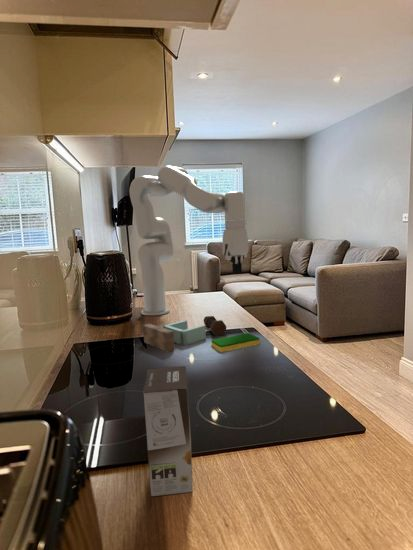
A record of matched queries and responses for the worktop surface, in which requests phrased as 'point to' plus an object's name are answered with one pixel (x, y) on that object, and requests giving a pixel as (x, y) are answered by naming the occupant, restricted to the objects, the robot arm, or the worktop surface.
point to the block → (186, 332)
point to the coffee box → (168, 430)
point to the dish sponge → (234, 342)
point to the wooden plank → (159, 337)
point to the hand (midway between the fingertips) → (237, 273)
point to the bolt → (215, 325)
